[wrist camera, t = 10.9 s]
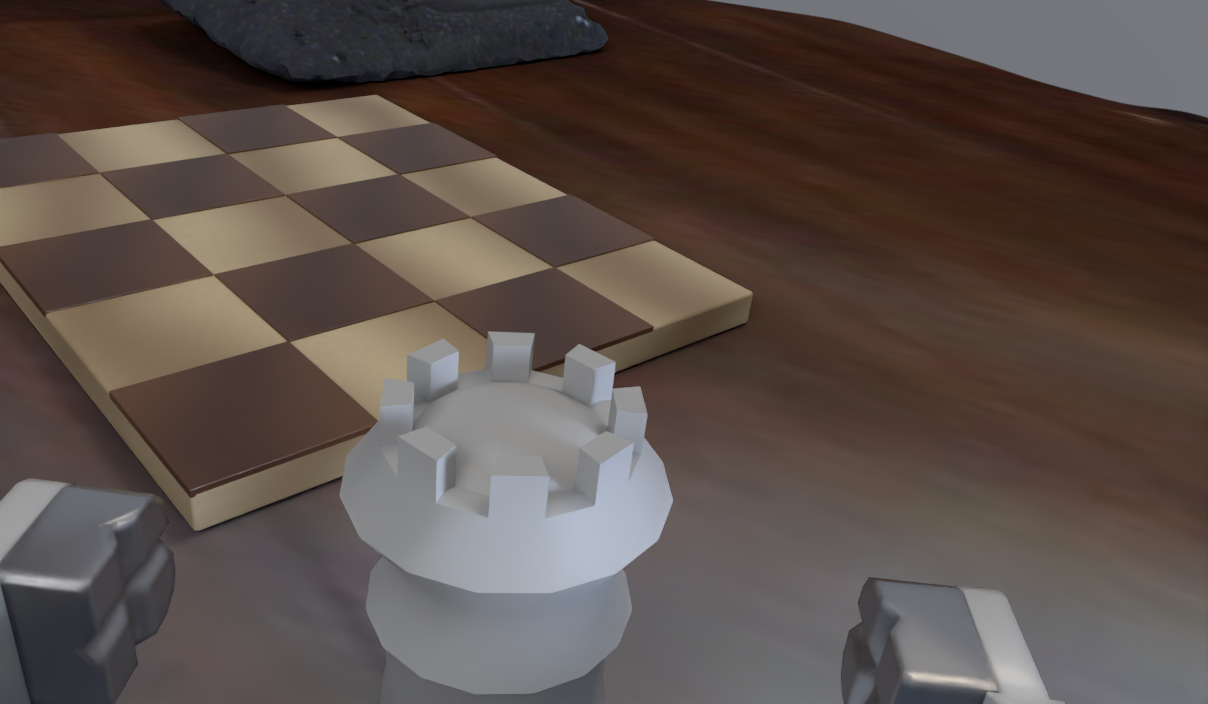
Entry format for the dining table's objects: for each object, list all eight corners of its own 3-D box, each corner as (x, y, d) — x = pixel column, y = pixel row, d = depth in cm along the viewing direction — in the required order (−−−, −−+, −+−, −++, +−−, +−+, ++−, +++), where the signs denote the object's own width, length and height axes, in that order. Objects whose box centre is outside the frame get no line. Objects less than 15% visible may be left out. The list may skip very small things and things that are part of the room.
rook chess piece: (362, 737, 16) (354, 266, 12) (651, 780, 15) (742, 319, 12) (249, 1054, 12) (178, 510, 8) (632, 1114, 12) (761, 592, 8)
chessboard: (377, 118, 41) (376, 92, 41) (748, 322, 29) (755, 290, 28) (-80, 182, 31) (-88, 149, 31) (194, 534, 19) (189, 490, 19)
